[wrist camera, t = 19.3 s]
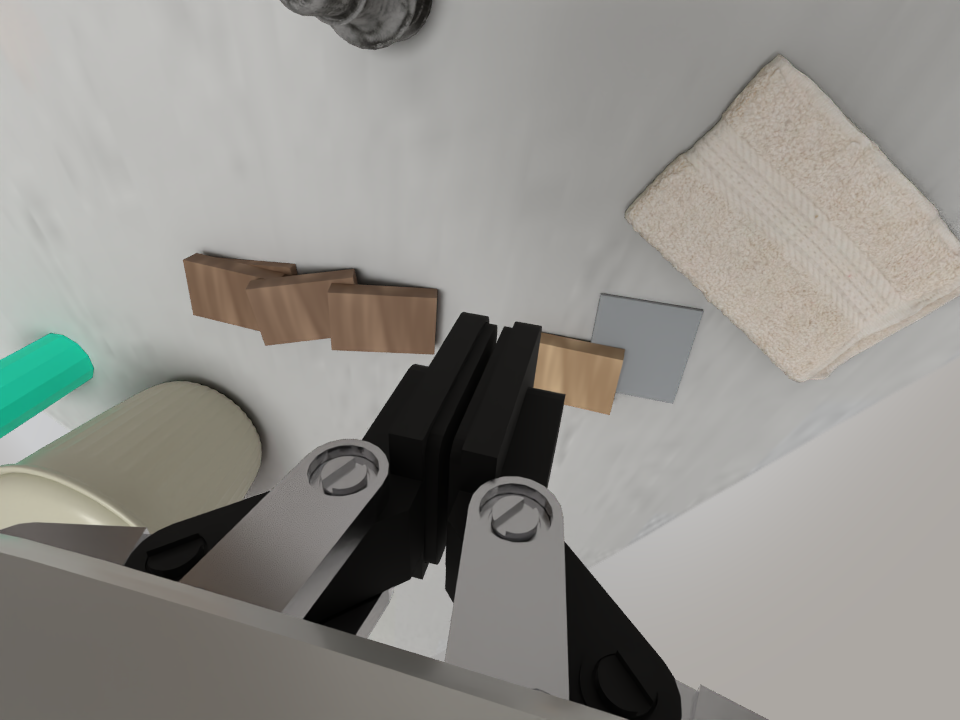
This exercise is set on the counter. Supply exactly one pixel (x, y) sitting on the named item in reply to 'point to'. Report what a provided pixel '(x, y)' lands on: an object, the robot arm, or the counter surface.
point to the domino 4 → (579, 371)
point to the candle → (39, 378)
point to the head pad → (647, 343)
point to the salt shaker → (367, 18)
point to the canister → (139, 463)
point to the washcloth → (800, 228)
